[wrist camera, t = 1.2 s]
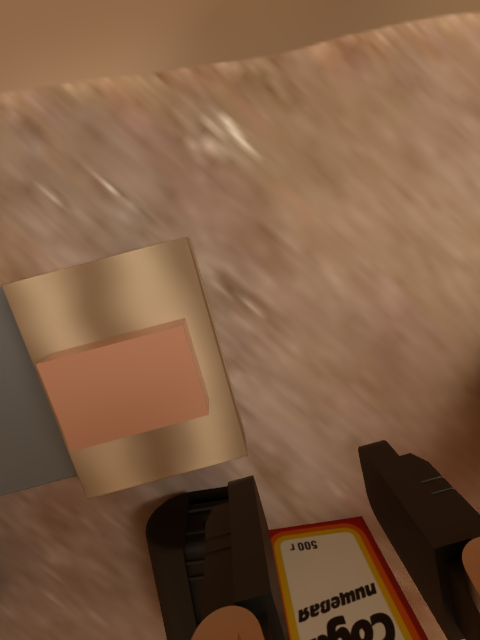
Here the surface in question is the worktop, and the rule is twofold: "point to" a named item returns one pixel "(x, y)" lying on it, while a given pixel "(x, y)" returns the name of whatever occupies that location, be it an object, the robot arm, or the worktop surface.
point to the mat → (25, 417)
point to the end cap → (181, 557)
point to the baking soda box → (339, 584)
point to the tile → (125, 384)
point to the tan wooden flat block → (123, 317)
